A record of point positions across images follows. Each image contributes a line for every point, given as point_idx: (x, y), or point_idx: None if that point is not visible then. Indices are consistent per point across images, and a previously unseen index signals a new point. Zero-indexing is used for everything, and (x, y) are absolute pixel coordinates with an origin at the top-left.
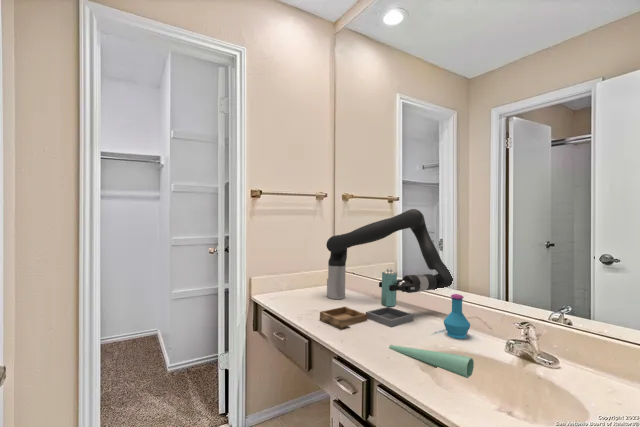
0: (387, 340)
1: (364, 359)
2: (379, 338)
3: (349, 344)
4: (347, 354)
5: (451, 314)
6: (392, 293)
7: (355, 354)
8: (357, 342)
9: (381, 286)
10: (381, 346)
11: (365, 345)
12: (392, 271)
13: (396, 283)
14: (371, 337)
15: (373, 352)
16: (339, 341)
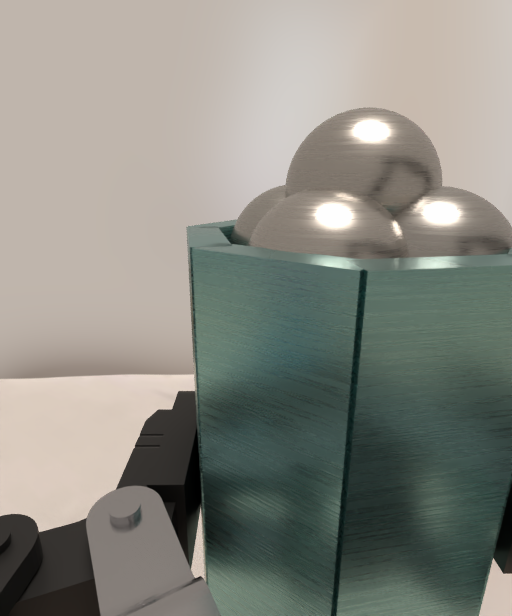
0: (25, 515)
1: (19, 388)
2: (76, 498)
3: (129, 400)
4: (82, 376)
5: None
6: (202, 534)
7: (62, 386)
8: (122, 420)
9: None
10: (17, 460)
11: (80, 426)
12: (306, 185)
13: (200, 473)
14: (116, 477)
15: (19, 420)
16: (171, 391)
